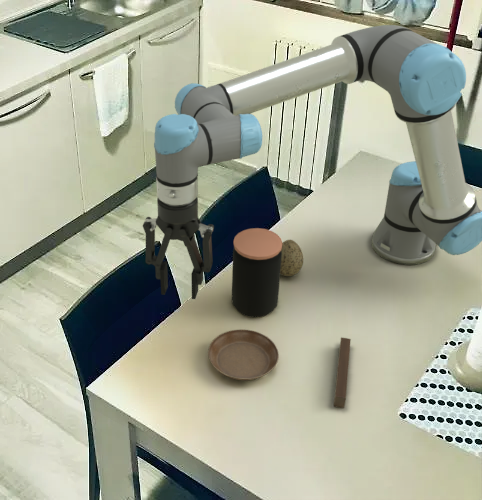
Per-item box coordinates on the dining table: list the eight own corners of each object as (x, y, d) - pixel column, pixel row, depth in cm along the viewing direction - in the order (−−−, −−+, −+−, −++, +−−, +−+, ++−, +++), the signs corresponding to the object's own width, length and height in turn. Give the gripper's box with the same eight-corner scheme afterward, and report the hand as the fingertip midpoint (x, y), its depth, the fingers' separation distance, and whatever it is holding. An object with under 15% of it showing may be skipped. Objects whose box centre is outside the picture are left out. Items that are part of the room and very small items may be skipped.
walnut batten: (348, 348, 155) (350, 338, 154) (344, 408, 142) (345, 398, 141) (339, 347, 156) (341, 337, 154) (333, 406, 143) (335, 396, 141)
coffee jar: (283, 295, 170) (288, 233, 160) (269, 324, 163) (274, 261, 152) (240, 285, 174) (242, 223, 163) (224, 312, 167) (226, 250, 156)
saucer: (206, 337, 160) (206, 329, 158) (273, 337, 159) (274, 328, 158) (209, 388, 148) (209, 379, 147) (281, 387, 148) (282, 378, 146)
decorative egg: (307, 276, 175) (311, 243, 169) (283, 286, 173) (286, 253, 167) (290, 261, 181) (293, 228, 175) (266, 270, 178) (268, 237, 172)
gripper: (123, 202, 133) (130, 297, 147) (223, 213, 128) (221, 311, 142) (134, 181, 138) (140, 275, 152) (231, 191, 134) (228, 287, 148)
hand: (179, 292), depth 147 cm, fingers open, 6 cm apart
